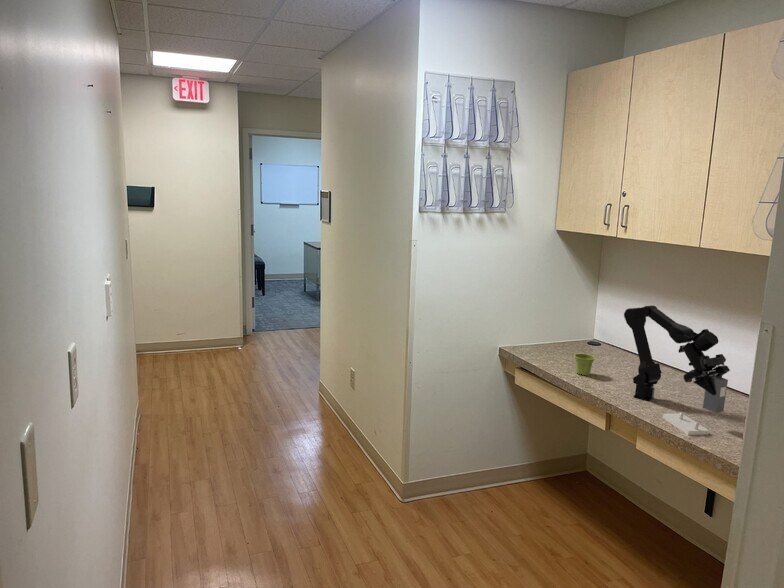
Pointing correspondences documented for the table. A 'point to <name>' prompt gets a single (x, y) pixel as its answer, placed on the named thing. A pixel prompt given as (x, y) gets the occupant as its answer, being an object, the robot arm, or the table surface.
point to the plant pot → (583, 363)
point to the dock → (685, 424)
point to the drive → (718, 400)
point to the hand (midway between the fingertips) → (718, 394)
